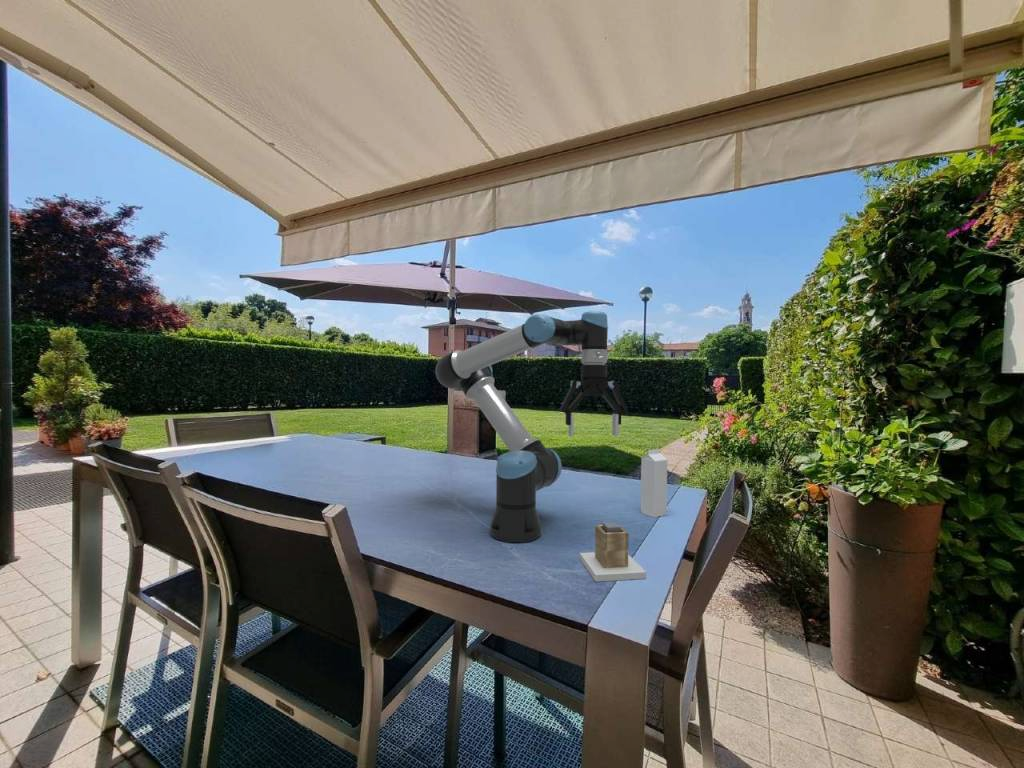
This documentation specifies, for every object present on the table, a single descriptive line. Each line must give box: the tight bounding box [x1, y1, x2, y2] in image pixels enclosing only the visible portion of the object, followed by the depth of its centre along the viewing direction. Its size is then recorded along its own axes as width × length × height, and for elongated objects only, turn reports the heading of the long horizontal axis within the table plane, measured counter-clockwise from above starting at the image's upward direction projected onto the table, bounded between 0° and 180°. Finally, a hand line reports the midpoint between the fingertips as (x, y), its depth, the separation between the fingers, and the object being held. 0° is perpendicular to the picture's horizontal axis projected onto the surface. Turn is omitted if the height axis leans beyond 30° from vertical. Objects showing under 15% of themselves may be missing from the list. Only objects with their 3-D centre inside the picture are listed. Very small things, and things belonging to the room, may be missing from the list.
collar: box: [594, 523, 630, 568], centre depth 101 cm, size 6×6×8 cm
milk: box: [640, 448, 668, 519], centre depth 142 cm, size 6×6×22 cm
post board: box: [579, 522, 647, 583], centre depth 101 cm, size 12×12×10 cm
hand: (593, 436), depth 124 cm, fingers open, 13 cm apart
